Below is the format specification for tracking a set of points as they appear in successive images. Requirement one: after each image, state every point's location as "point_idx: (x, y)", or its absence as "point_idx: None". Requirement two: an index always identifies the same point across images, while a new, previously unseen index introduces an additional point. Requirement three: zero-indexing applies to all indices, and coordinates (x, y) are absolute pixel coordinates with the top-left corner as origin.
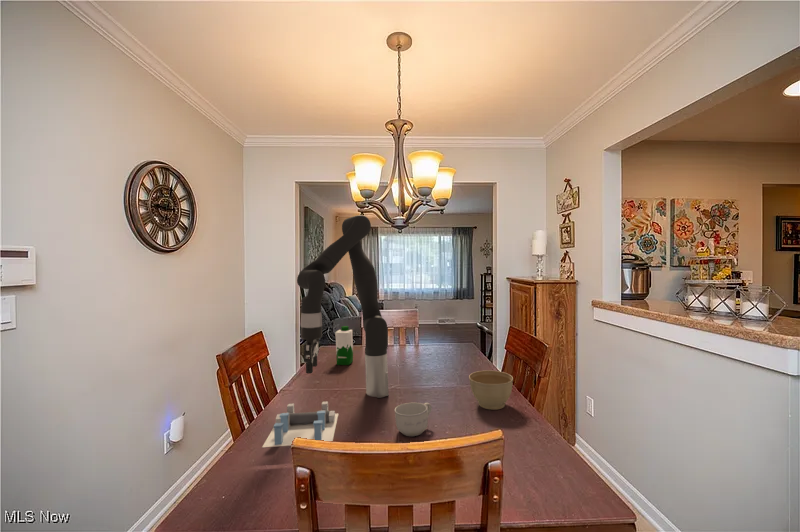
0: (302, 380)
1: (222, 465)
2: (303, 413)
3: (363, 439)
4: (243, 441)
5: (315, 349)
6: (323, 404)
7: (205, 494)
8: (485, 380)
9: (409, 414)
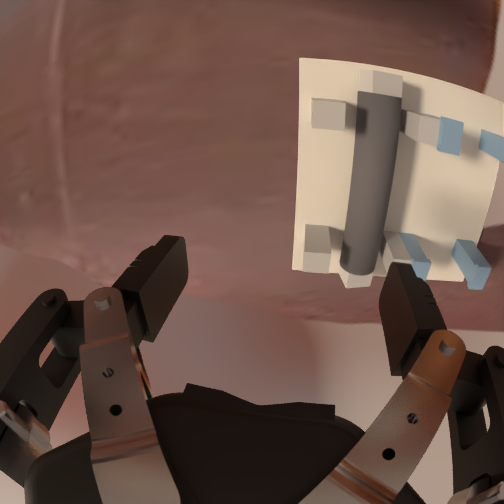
0: (28, 239)
1: (473, 327)
2: (378, 202)
3: (487, 13)
4: None
5: (352, 464)
6: (344, 121)
7: None
8: None
9: None
